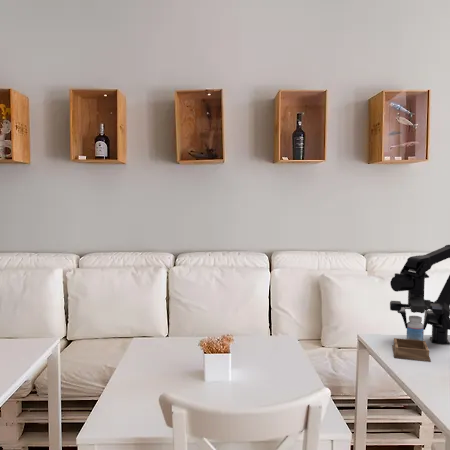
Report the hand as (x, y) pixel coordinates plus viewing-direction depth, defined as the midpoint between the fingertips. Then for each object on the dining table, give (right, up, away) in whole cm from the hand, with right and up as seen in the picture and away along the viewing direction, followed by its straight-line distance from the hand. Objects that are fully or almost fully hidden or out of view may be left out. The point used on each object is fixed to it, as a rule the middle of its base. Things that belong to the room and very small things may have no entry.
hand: (415, 328), depth 171 cm
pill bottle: (0, -7, 0) cm, 7 cm away
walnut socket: (-6, -7, -9) cm, 13 cm away
